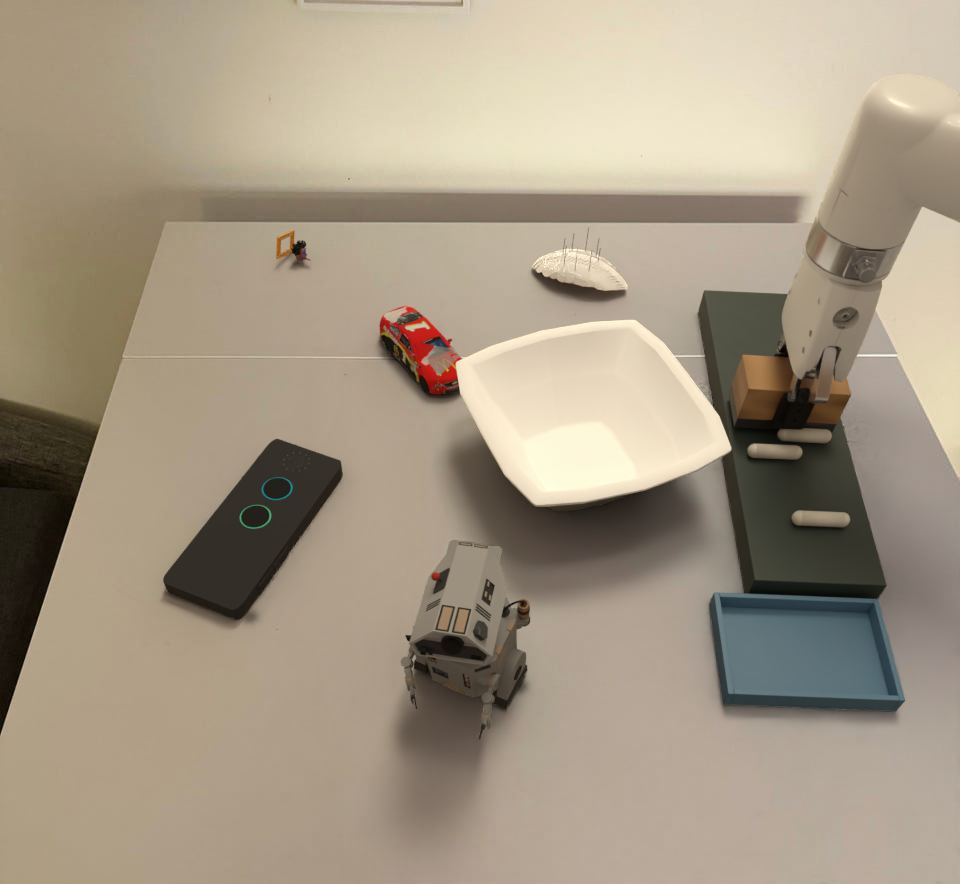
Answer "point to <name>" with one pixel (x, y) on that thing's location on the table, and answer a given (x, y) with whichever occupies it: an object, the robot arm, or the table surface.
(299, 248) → the toy figure with frame
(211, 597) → the smart home device
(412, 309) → the race car
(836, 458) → the board
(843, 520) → the chalk
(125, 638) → the table surface
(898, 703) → the tray
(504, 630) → the figurine
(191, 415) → the table surface
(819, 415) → the eraser
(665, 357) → the bowl
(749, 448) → the chalk
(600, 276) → the pincushion
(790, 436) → the chalk
